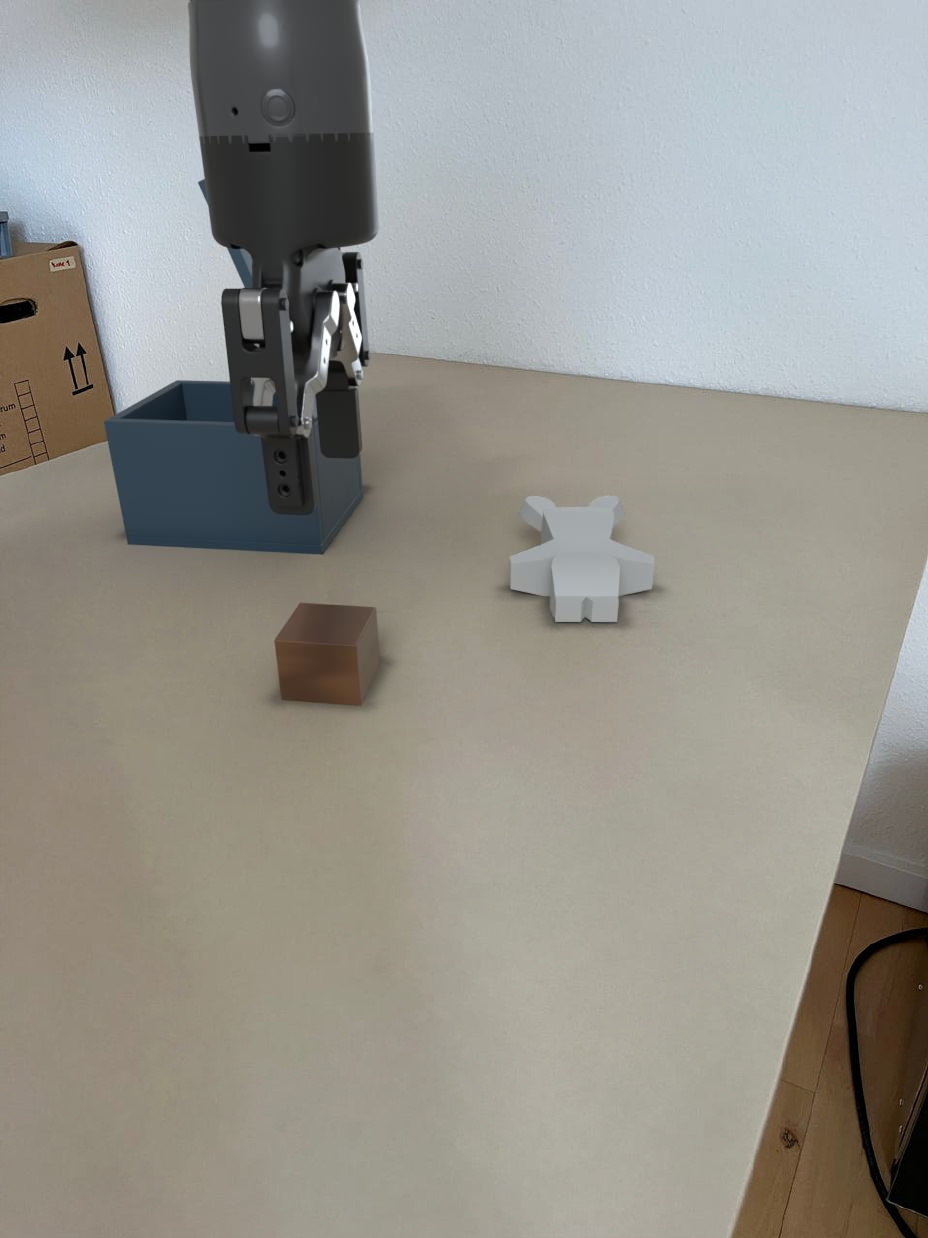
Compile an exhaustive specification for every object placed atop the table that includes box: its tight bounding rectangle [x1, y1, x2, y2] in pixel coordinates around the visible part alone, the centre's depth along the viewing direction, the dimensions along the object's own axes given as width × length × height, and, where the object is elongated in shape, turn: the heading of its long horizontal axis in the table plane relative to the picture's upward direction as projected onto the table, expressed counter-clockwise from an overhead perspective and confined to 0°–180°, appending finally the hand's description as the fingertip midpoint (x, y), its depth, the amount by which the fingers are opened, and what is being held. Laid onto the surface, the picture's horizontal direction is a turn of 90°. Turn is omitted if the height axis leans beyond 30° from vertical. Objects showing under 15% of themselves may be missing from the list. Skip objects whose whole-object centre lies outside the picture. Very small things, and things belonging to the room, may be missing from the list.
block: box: [273, 602, 381, 707], centre depth 52 cm, size 4×4×4 cm
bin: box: [103, 379, 364, 556], centre depth 75 cm, size 16×13×10 cm
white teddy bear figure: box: [508, 495, 656, 623], centre depth 64 cm, size 10×5×15 cm
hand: (320, 482), depth 48 cm, fingers open, 8 cm apart
